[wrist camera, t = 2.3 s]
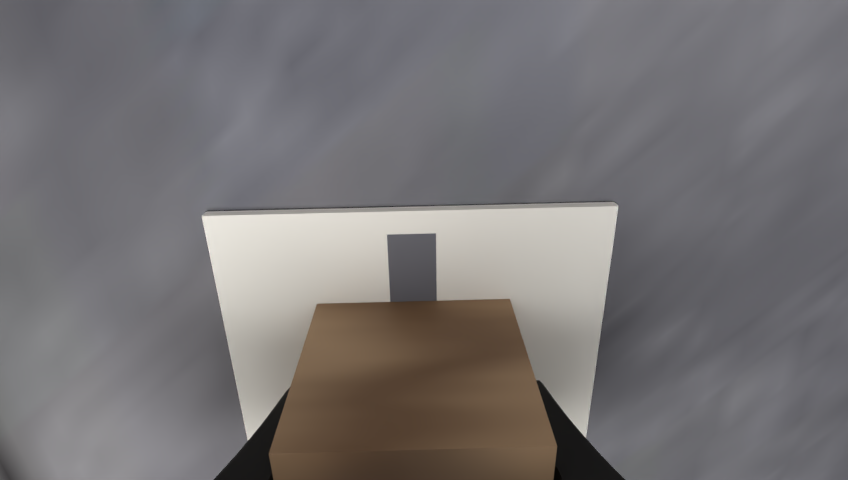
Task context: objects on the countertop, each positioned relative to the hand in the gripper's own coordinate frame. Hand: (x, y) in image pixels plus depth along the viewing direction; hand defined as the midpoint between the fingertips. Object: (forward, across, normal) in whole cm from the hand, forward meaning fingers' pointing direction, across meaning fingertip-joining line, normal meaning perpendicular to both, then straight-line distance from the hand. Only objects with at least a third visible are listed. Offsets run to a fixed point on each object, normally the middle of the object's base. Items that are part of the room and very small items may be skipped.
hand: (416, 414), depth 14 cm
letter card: (+2, 0, 0) cm, 2 cm away
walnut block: (+1, 0, 0) cm, 1 cm away
